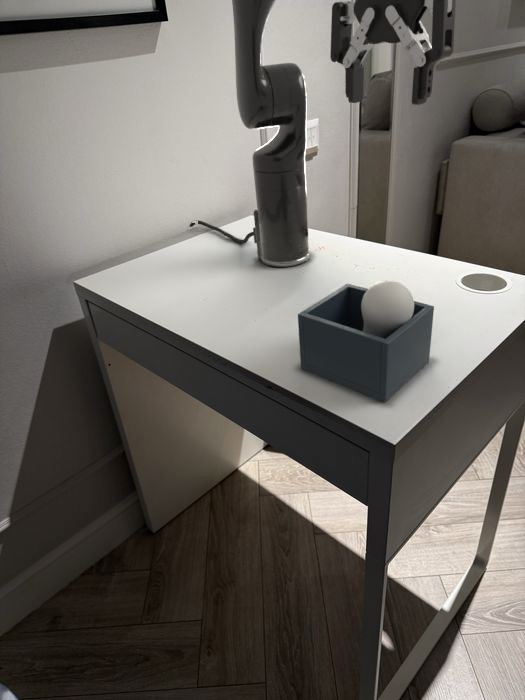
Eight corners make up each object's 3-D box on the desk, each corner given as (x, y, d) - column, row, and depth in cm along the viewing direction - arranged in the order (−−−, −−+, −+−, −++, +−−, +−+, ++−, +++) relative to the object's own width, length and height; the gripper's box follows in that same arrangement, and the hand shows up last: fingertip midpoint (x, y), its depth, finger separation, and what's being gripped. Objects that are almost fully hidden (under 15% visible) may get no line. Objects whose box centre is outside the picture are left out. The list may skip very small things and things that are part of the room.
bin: (300, 368, 68) (297, 314, 64) (347, 334, 74) (347, 283, 70) (385, 402, 60) (387, 343, 56) (429, 361, 66) (434, 306, 62)
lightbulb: (388, 378, 64) (422, 306, 57) (340, 363, 64) (369, 291, 57) (390, 348, 69) (421, 279, 62) (345, 335, 69) (372, 264, 62)
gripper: (478, -85, 50) (458, 99, 59) (355, -61, 59) (353, 96, 67) (441, -90, 46) (425, 110, 54) (314, -63, 54) (318, 106, 63)
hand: (385, 102), depth 61 cm, fingers open, 8 cm apart
